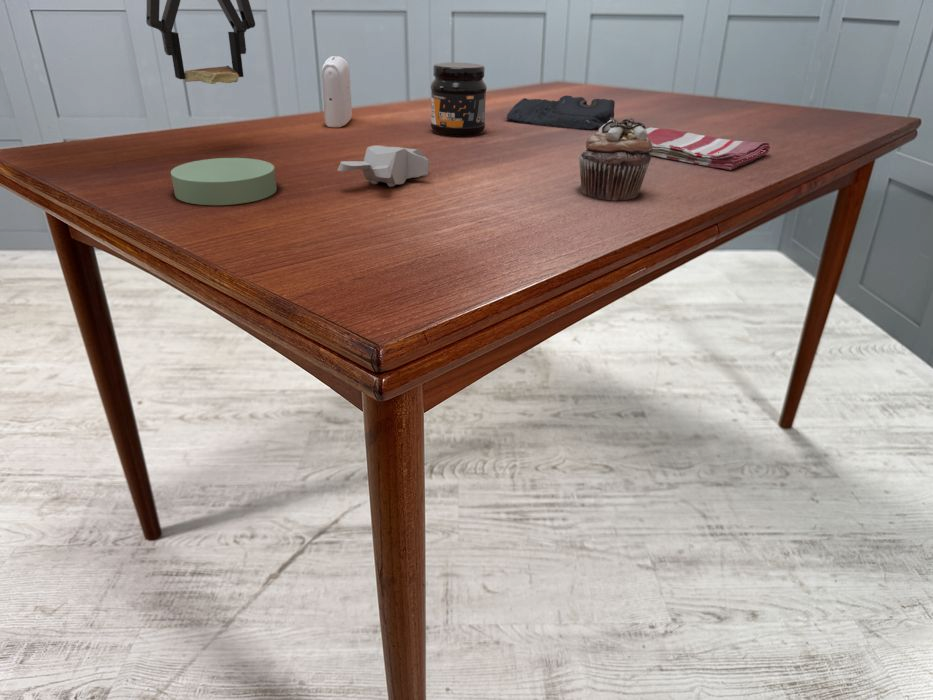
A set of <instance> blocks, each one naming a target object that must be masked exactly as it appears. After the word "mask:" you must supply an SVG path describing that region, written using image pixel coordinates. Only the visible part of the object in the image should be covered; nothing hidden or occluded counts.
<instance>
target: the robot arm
mask: <svg viewBox="0 0 933 700" xmlns="http://www.w3.org/2000/svg"><path fill="white" fill-rule="evenodd" d="M216 1H217V2H218V4H219V6H220V8H221V10H222V12H223V14H224V15H225V18H226V19H227V21H228V23H229V25H230V26H231V28H232V30H233V31H228V32H227V34H228V42H229V50H230V57H231V58H230V60H231V66H232V67H231V68H233V69H234V70H235V71H236V72H237V73H238V75H239V78H244V70H243V69H244V68H243V61H242V55H246V54H247V46H246V37H245V36H246V35H245V33H246V32H247V30H250V29H253V28H255V27H256V20H255V18H254V13H253V10H252V7H251V3H250V0H235V1H236V5H237V9H238V11H239V14H238V11H237V10H236V8H235V6H234V4H233V3H232V1H231V0H216ZM160 2H161V0H146V16H145V18H146V20H145V21H146V25H147V26H149V27H150V28H153V29H156V30H158V31H159V32H160V33H161V38H162V44H163V51H164V53H165V55H167V56H171V58H172V64H173V71H174V77H175V78H176V79H178V80H185V74H184V72H185V68H184V63H183V55H182V48H181V43H180V36H179V33H178V32H176V31H173V29H174V26H175V22H176V17H177V15H178V11H179V8H180V4H181V0H166V2H165V6H164V8H163V13H162V15H161V19H160V5H161V3H160ZM239 15H240V16H239Z"/></svg>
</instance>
